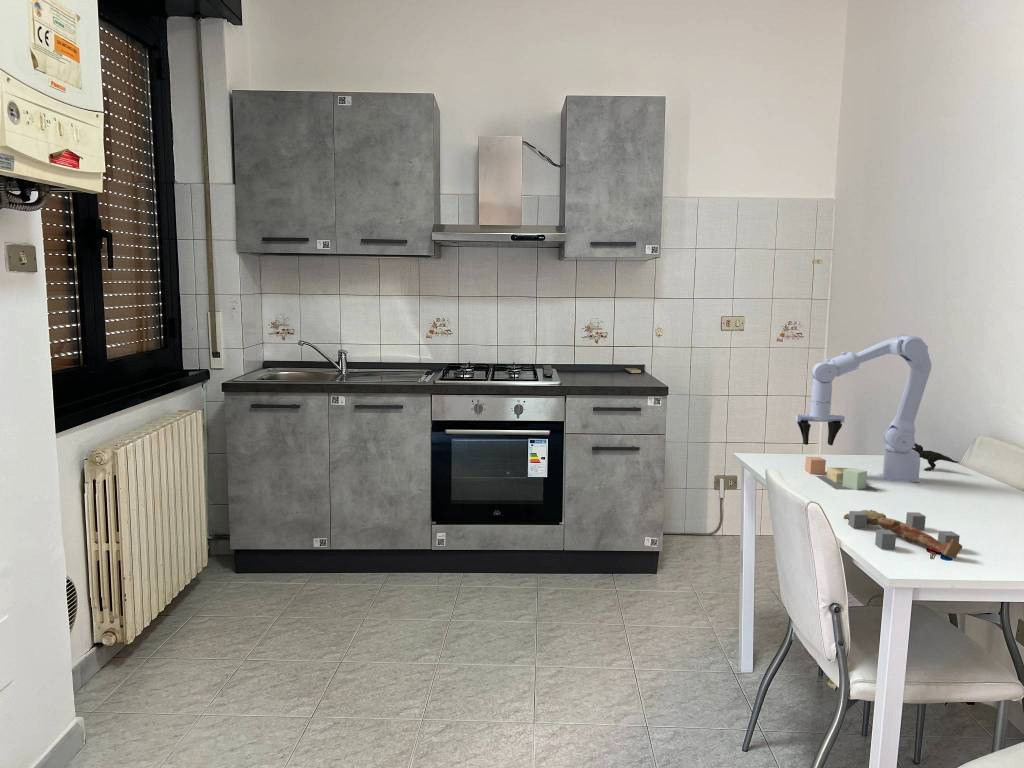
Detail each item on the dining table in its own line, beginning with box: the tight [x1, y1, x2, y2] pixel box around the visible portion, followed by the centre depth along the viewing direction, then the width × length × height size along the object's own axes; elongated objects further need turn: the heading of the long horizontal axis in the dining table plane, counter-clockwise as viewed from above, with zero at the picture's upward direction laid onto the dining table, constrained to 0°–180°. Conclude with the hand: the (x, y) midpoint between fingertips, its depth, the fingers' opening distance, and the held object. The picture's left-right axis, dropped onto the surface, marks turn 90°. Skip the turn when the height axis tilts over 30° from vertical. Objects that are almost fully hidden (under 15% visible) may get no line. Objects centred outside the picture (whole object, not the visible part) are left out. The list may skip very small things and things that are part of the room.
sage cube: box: [842, 467, 868, 491], centre depth 215 cm, size 4×4×5 cm
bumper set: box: [847, 510, 960, 550], centre depth 173 cm, size 17×17×4 cm
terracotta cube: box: [804, 456, 827, 475], centre depth 232 cm, size 4×4×5 cm
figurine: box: [843, 509, 963, 559], centre depth 173 cm, size 8×6×30 cm
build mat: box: [815, 475, 878, 491], centre depth 220 cm, size 12×15×1 cm
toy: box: [911, 442, 960, 472], centre depth 238 cm, size 5×15×8 cm, turn 39°
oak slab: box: [826, 467, 850, 483], centre depth 223 cm, size 7×7×3 cm
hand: (817, 444), depth 230 cm, fingers open, 7 cm apart
